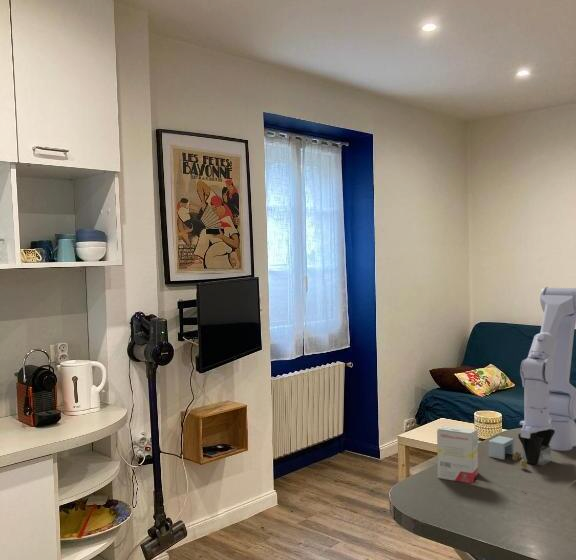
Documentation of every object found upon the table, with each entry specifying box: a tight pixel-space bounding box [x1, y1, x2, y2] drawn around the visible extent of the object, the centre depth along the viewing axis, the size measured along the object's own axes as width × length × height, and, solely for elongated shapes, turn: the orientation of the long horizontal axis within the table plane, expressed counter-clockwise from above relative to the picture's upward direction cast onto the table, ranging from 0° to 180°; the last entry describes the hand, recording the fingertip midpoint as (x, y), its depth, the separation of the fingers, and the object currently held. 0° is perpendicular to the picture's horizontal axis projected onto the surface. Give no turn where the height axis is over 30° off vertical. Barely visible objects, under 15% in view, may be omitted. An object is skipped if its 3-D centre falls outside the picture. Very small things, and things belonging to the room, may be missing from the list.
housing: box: [488, 435, 515, 460], centre depth 157 cm, size 6×4×4 cm, turn 136°
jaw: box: [522, 444, 552, 467], centre depth 152 cm, size 5×5×4 cm
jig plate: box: [512, 451, 528, 469], centre depth 153 cm, size 14×14×4 cm
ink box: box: [436, 424, 479, 485], centre depth 144 cm, size 9×5×12 cm, turn 57°
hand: (536, 460), depth 152 cm, fingers closed on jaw, 5 cm apart
